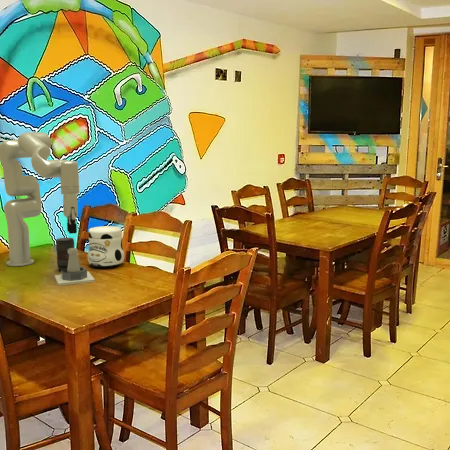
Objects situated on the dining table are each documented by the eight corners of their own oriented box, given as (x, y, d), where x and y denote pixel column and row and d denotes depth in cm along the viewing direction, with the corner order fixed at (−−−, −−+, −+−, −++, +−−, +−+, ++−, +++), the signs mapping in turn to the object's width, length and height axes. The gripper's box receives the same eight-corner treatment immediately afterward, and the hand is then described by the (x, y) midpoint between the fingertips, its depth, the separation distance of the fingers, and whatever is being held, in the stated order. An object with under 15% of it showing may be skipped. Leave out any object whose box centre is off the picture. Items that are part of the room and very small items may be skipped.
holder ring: (60, 275, 244) (60, 268, 243) (84, 273, 248) (84, 265, 247) (63, 281, 234) (63, 273, 234) (88, 279, 238) (88, 271, 238)
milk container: (87, 270, 256) (85, 232, 253) (88, 262, 273) (87, 226, 270) (124, 269, 260) (123, 231, 256) (124, 260, 276) (123, 225, 273)
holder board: (54, 277, 245) (54, 275, 244) (89, 274, 250) (88, 271, 250) (58, 285, 232) (58, 283, 232) (94, 281, 238) (94, 279, 238)
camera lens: (78, 268, 261) (76, 237, 258) (71, 272, 253) (70, 240, 250) (61, 267, 261) (59, 236, 259) (54, 272, 253) (52, 240, 251)
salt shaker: (68, 275, 244) (67, 246, 242) (81, 275, 244) (80, 246, 242) (65, 279, 238) (64, 249, 236) (79, 278, 239) (78, 249, 236)
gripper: (58, 188, 240) (60, 229, 244) (63, 192, 225) (65, 236, 228) (76, 187, 243) (78, 228, 247) (82, 191, 228) (84, 235, 231)
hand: (72, 231), depth 237 cm, fingers open, 4 cm apart
